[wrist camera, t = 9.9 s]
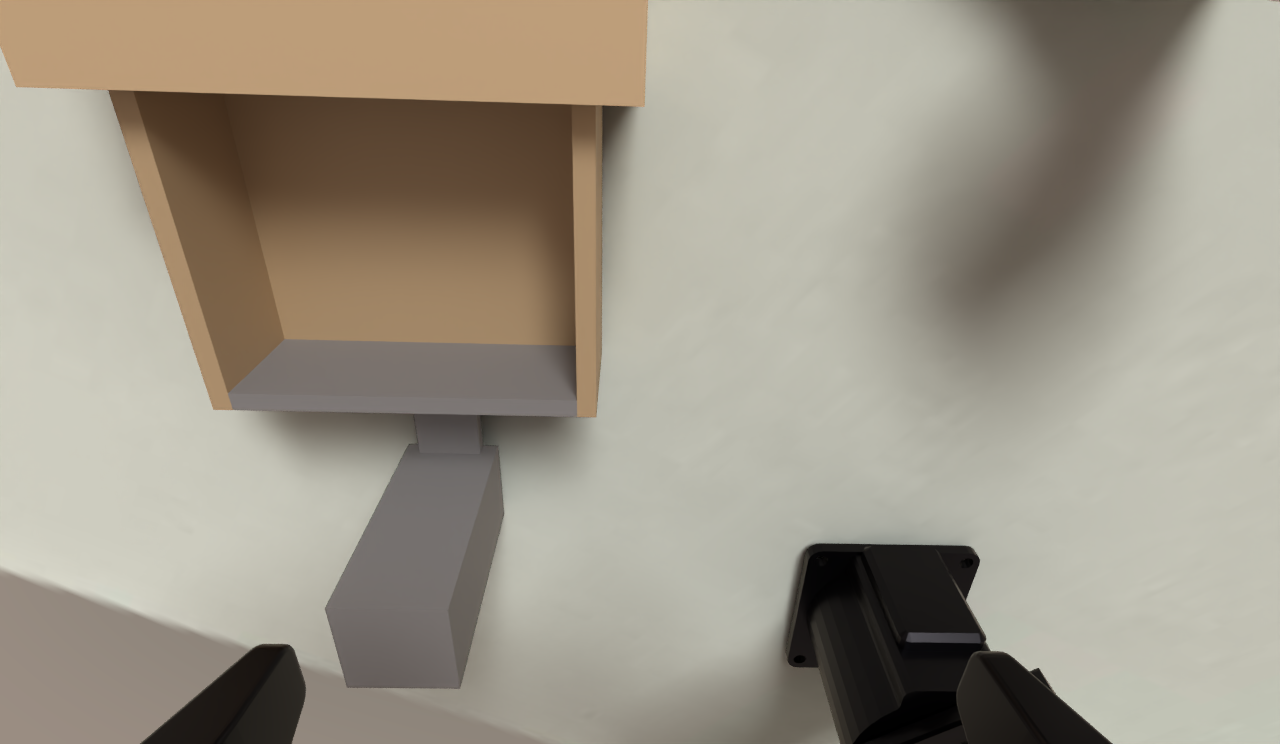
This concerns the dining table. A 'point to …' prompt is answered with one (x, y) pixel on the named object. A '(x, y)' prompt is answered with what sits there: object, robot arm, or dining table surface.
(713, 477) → the dining table surface
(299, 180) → the inner tray
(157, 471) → the dining table surface
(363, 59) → the wooden drawer box
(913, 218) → the dining table surface
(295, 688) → the robot arm
